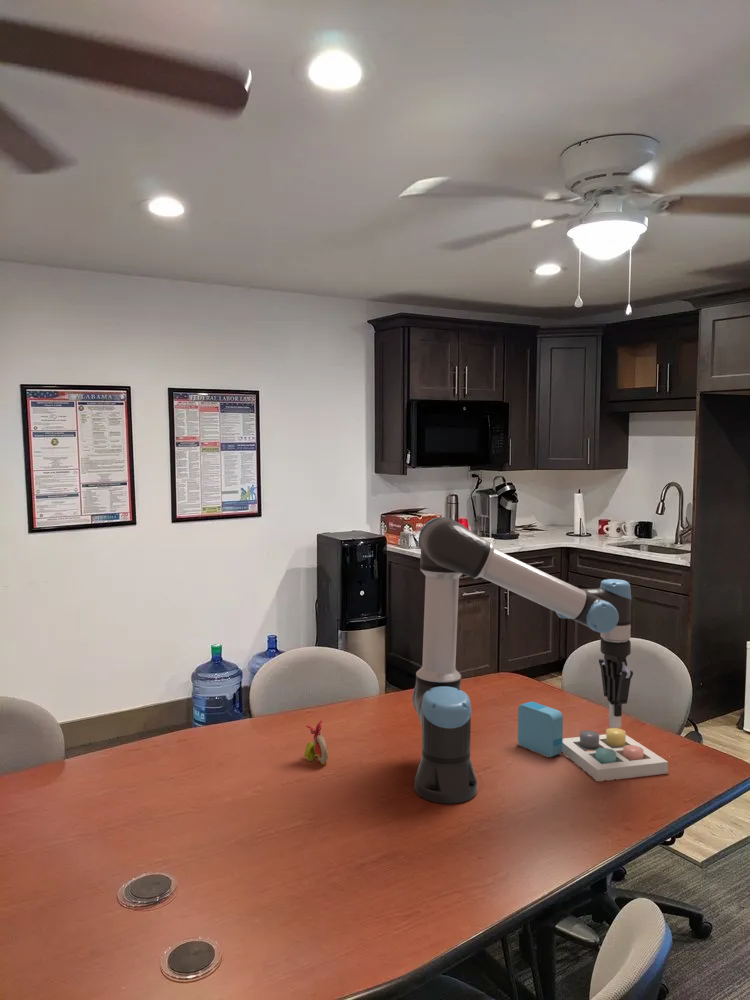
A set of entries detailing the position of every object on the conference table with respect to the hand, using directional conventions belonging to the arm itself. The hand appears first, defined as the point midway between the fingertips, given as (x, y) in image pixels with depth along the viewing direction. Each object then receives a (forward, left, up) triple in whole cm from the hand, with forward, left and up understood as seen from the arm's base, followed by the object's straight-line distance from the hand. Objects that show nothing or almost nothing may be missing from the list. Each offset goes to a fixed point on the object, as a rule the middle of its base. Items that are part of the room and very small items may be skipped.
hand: (615, 726), depth 188 cm
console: (-1, 0, -9) cm, 9 cm away
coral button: (+3, -4, -8) cm, 9 cm away
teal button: (-5, -4, -8) cm, 10 cm away
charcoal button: (-5, +4, -6) cm, 9 cm away
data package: (-16, +11, -10) cm, 22 cm away
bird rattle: (-76, +18, -10) cm, 79 cm away
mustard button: (+3, +4, -6) cm, 8 cm away
